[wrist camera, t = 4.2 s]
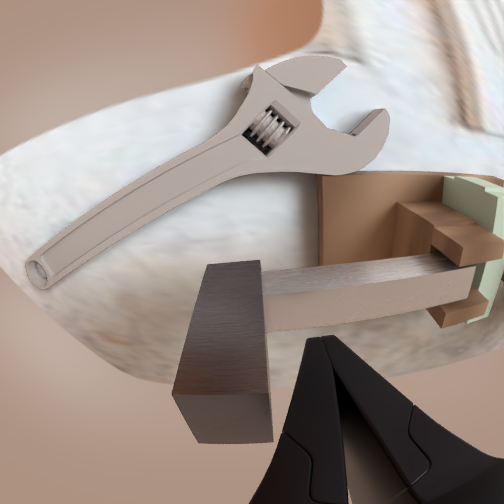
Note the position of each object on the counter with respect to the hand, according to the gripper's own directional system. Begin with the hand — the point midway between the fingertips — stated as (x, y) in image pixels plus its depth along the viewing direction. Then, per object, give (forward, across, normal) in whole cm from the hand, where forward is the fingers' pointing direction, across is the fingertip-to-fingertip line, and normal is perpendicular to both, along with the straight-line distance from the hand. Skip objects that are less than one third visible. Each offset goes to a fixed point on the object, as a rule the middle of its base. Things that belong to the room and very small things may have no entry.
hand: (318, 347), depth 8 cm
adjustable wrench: (+9, +7, -4) cm, 12 cm away
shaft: (+4, -2, 0) cm, 4 cm away
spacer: (+7, -10, 0) cm, 13 cm away
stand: (+9, -9, 0) cm, 12 cm away
